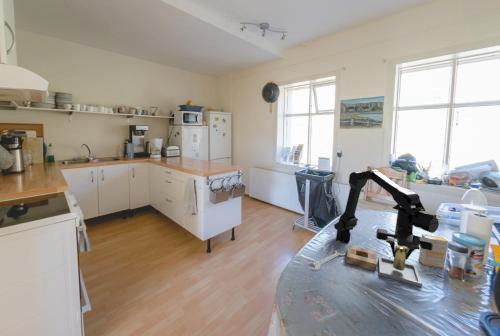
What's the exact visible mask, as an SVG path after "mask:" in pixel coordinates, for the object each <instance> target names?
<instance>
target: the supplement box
mask: <svg viewBox="0 0 500 336" xmlns="http://www.w3.org/2000/svg"><path fill="white" fill-rule="evenodd" d="M421 237H424V238H429V239H430V241H431V242H432V244H433V247H432V250H426V249H422V248H421V247H420V246H419V248H420V249H419V254H418V261H419V263H421V265H422V266H427V267H434V268H439V269H444V268H445V263H446V258H447V253H448V252H447V251H448V246H447V244H448V245H449V241H448V240H447V238H445V237H444V236H439V235H431V234H424V233H422V234H421Z"/></svg>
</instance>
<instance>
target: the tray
mask: <svg viewBox="0 0 500 336" xmlns="http://www.w3.org/2000/svg"><path fill="white" fill-rule="evenodd" d="M393 261H394V258H393V259H391V258H388V257H385V256H380V255H379V256H378V258H377V264H378V277H379V278H383V279H387V280H389V281H393V282H397V283H401V284H403V285H408V286H410V287H416V288H418V289H422V287H423V282H422V280H421V276H420V273H419V271H418V268H417V265H416V264H413V263H408V262H405V267H404V270H397V269H395V268H394V267H393Z"/></svg>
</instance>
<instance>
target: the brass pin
mask: <svg viewBox="0 0 500 336" xmlns="http://www.w3.org/2000/svg"><path fill="white" fill-rule="evenodd" d="M406 253H407V247H404V246H399V245H398V244H397V245H395V256H394V257H393V260H394V261H393V267H394V268H395V269H397V270H404V267H405V263H406V261H407V260H406Z"/></svg>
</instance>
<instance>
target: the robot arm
mask: <svg viewBox="0 0 500 336" xmlns="http://www.w3.org/2000/svg"><path fill="white" fill-rule="evenodd" d="M369 180H372V181H373V182H374V183H375V184H377V185H378V186H379V187H381V188H382V189H383V190H385V191H386V192H387V193H389V194H390V196H391V197H392V199H393V201H394V202H396V205H394V206H392V209H394V210H396V211H397V215H396V216H397V217H396V223H395V228H394V229H395V230H394V233H390V232H388V229H384V228H383V229H382V228H377V229H376V232H375V233H376V235H375V237H376V239H377V240H379V241H380V240H381V241H386V243H387V244H389V245H390V248H391V254H392V256H393V258H394V256H395V247H396V243H397V245H399V246H403V247H405V248H407V253H406V260H405V261H407V260H408V259H409V257H410V256H411V254H412V253H413V252H414V251H416V250H418V251H420V247H421V248H422V249H426V250H432V247H433V244H432V242H431V241H430V239H429V238H424V237H422V236H420V235H415V234H414V233H413V229H414V227H415V228H417V229H420V230H423V231H425V232H428V233H431V234H434V233H435V232H436V231H437V230H438V228H439V226H440V222H439V219H438V218H437V214H434V213H431V212H430V213H429V212H426V208H425V207H424V205H423V203H422V202H421V199H420V195H418V194H419V193H417V192H414V191H413V190H410V189H407V188H405V187H402V186H400V185H398V184H397V183H395V182H394V181H393V180H391V179H390V178H388V177H387V176H385V175H384V174H382V173H381V172H380V170H378V169H368V170H367V171H352V172H350V174H349V176H348V184H349V187H350V188H349V193H348V197H347V201H346V205H345V209H344V212H343V213H342V214H341V215H340V217H339V219H338V222H336V223H334V224H333V227H334V229H335V230H336V237H335V241H337V242H341V243H346V244H349V242H350V241H351V236H352V233H351V230H352V231H353V230H354V228H355V227H356V226H357V225H358V222H359V220H358V218H357V217H356V215H355V214H356V210H357V207H358V202H359V200H360V199H359V198H360V194H361V191H362V189H363V188H364V187H366V185H367V182H368V181H369ZM395 241H396V242H395Z"/></svg>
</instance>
